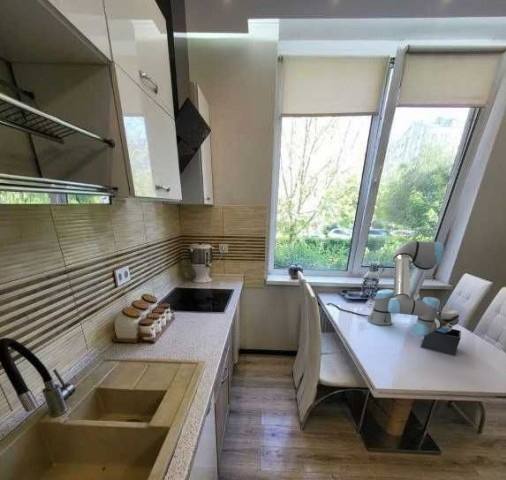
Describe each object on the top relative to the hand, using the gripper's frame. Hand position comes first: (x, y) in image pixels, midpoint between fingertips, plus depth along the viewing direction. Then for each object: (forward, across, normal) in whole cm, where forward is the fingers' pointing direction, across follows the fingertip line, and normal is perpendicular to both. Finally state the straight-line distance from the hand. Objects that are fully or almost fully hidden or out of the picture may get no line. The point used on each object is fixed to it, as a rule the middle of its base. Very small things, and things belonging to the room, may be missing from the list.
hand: (451, 315), depth 158 cm
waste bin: (-5, 0, -19) cm, 20 cm away
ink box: (-5, 0, -8) cm, 10 cm away
